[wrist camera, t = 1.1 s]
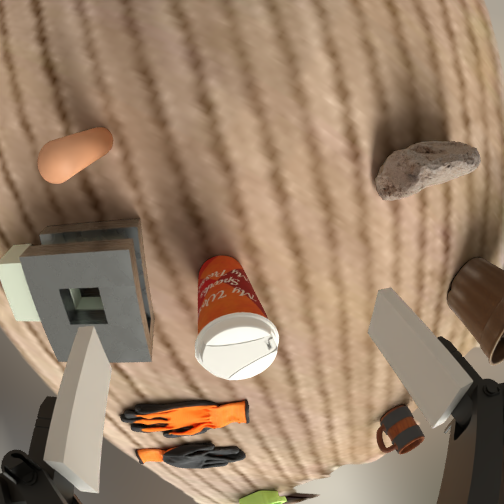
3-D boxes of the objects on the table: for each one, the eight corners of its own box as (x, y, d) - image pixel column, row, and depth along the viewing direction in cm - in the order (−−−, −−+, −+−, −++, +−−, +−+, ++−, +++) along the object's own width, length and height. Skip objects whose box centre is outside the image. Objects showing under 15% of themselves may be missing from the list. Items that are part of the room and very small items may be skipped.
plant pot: (497, 269, 52) (546, 308, 38) (454, 326, 56) (497, 372, 42) (478, 231, 45) (541, 274, 31) (427, 300, 49) (482, 355, 35)
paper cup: (239, 237, 37) (269, 308, 24) (259, 287, 40) (291, 365, 28) (178, 261, 36) (179, 342, 24) (203, 309, 40) (215, 392, 28)
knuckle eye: (13, 245, 31) (-5, 264, 26) (125, 236, 34) (117, 256, 29) (29, 298, 34) (16, 320, 30) (135, 294, 37) (130, 319, 33)
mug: (369, 418, 65) (388, 453, 55) (409, 399, 66) (430, 431, 56) (366, 432, 69) (383, 465, 59) (403, 414, 70) (422, 445, 60)
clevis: (47, 226, 31) (19, 257, 24) (140, 218, 33) (128, 249, 26) (73, 321, 37) (58, 361, 30) (154, 318, 39) (151, 361, 32)
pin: (84, 129, 27) (35, 143, 17) (112, 125, 28) (73, 136, 17) (86, 158, 29) (40, 186, 18) (113, 154, 29) (77, 181, 19)
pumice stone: (371, 199, 38) (418, 229, 29) (367, 142, 34) (419, 159, 26) (449, 182, 39) (496, 204, 31) (449, 133, 36) (500, 148, 27)
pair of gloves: (113, 396, 46) (112, 412, 43) (252, 392, 51) (256, 407, 48) (141, 461, 57) (141, 473, 54) (242, 457, 63) (245, 468, 60)
